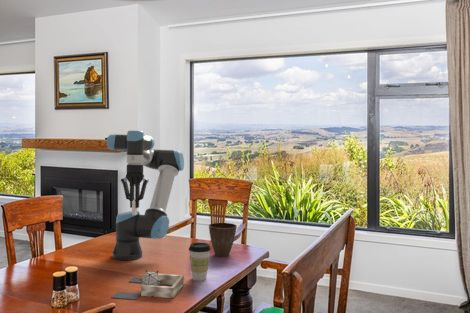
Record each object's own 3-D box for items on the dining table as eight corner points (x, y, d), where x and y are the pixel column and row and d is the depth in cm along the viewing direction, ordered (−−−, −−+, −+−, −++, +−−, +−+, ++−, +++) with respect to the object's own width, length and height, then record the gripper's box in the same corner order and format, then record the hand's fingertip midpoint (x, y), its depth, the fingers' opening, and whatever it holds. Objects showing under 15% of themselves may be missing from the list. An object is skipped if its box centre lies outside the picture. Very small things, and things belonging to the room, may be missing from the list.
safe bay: (141, 295, 165) (141, 285, 165) (153, 282, 180) (153, 273, 180) (173, 298, 163) (173, 288, 163) (183, 284, 178) (183, 275, 178)
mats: (111, 298, 162) (111, 297, 162) (134, 277, 186) (134, 277, 186) (135, 299, 161) (135, 299, 161) (155, 279, 184) (155, 278, 184)
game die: (150, 301, 169) (147, 286, 162) (136, 289, 173) (133, 274, 167) (167, 286, 174) (164, 272, 168) (153, 275, 178) (150, 260, 172)
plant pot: (216, 249, 235) (216, 221, 234) (240, 253, 229) (241, 224, 228) (203, 256, 221) (203, 226, 221) (228, 260, 215) (229, 229, 214)
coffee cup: (201, 283, 180) (202, 249, 179) (183, 279, 185) (184, 245, 185) (214, 277, 188) (215, 244, 188) (197, 273, 194) (197, 241, 193)
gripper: (118, 164, 190) (117, 215, 191) (145, 164, 188) (145, 216, 189) (124, 163, 197) (124, 212, 198) (151, 163, 196) (150, 213, 197)
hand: (134, 214), depth 194 cm, fingers closed
